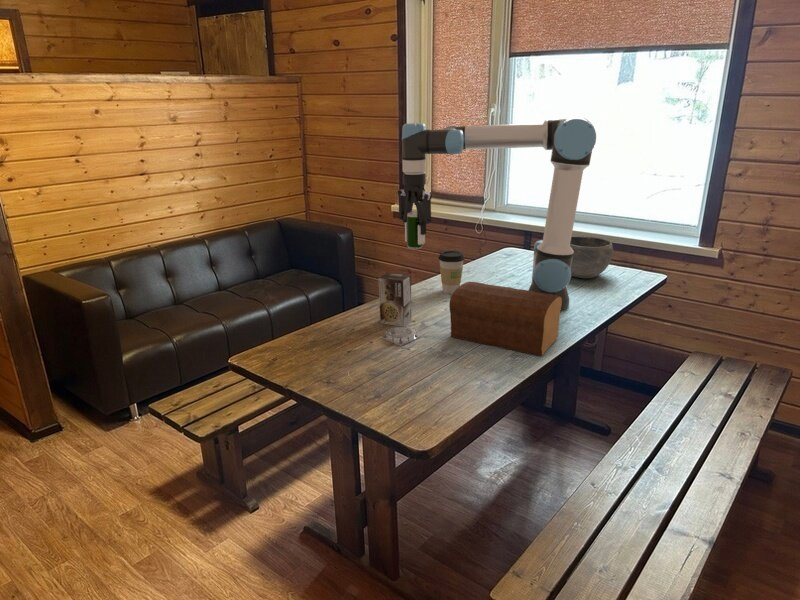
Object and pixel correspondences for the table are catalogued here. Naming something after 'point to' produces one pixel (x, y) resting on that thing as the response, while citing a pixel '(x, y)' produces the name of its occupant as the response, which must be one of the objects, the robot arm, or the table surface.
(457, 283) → the coffee cup
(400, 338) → the duct flange
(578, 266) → the bowl
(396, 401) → the table surface
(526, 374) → the table surface
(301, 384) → the table surface
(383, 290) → the coffee box
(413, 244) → the beer can
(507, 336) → the bread
